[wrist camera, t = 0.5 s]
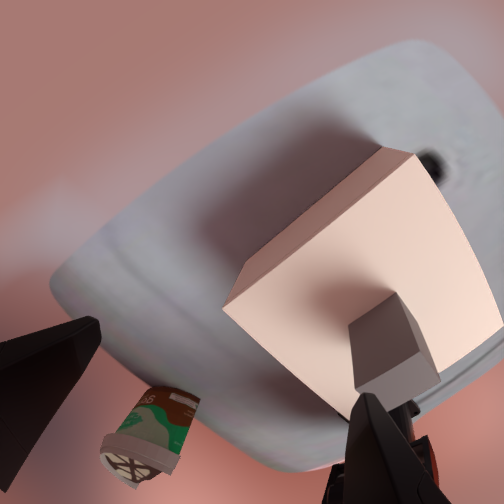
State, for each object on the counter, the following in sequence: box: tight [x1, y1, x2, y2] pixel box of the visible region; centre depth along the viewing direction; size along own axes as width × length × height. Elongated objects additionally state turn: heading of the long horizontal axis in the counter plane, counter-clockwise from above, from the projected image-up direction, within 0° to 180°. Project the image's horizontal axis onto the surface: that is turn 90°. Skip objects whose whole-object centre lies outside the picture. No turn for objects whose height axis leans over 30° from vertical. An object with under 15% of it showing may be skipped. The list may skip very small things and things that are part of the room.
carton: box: [225, 147, 411, 303], centre depth 17 cm, size 12×12×6 cm
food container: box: [100, 386, 200, 489], centre depth 26 cm, size 12×6×10 cm, turn 146°
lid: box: [222, 153, 504, 421], centre depth 12 cm, size 12×12×5 cm
